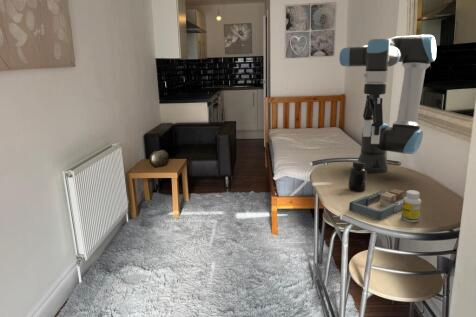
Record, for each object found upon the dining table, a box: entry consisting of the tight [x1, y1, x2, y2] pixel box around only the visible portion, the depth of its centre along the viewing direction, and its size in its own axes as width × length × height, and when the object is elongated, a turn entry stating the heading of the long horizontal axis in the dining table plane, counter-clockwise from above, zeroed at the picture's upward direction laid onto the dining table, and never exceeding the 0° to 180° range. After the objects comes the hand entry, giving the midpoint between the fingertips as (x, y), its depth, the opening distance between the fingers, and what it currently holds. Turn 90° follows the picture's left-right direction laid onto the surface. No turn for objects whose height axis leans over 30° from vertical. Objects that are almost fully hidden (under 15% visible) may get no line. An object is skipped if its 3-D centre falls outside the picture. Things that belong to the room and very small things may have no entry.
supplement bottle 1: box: [348, 160, 368, 193], centre depth 150 cm, size 7×7×12 cm
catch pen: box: [348, 195, 397, 221], centre depth 129 cm, size 11×12×3 cm
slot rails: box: [365, 189, 404, 215], centre depth 135 cm, size 14×12×2 cm
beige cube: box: [379, 191, 396, 207], centre depth 135 cm, size 4×4×4 cm
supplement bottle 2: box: [401, 189, 422, 223], centre depth 121 cm, size 5×5×10 cm
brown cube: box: [388, 188, 405, 202], centre depth 139 cm, size 4×4×4 cm
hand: (370, 140), depth 137 cm, fingers open, 13 cm apart
